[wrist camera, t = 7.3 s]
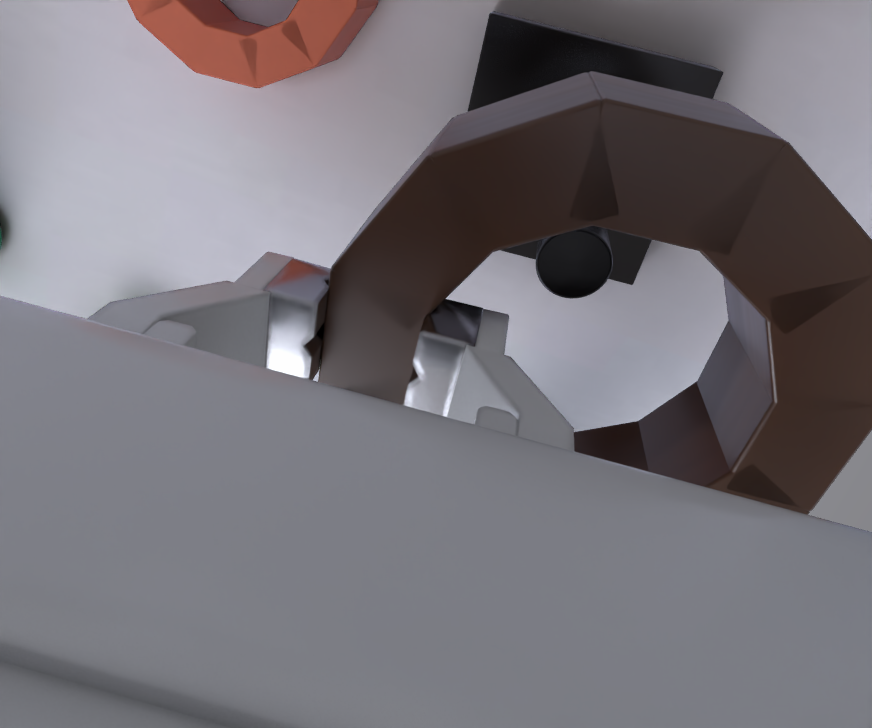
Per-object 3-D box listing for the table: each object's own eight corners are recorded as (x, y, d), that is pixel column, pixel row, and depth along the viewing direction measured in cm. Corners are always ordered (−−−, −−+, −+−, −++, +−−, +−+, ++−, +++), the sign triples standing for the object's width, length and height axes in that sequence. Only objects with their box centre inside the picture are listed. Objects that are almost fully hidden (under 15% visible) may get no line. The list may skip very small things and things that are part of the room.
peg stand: (493, 10, 25) (446, 36, 14) (715, 67, 24) (835, 135, 14) (444, 223, 29) (383, 359, 19) (629, 272, 29) (670, 437, 19)
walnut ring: (399, 25, 11) (354, 39, 9) (925, 148, 11) (1045, 201, 9) (341, 431, 17) (302, 517, 14) (698, 520, 16) (728, 625, 14)
